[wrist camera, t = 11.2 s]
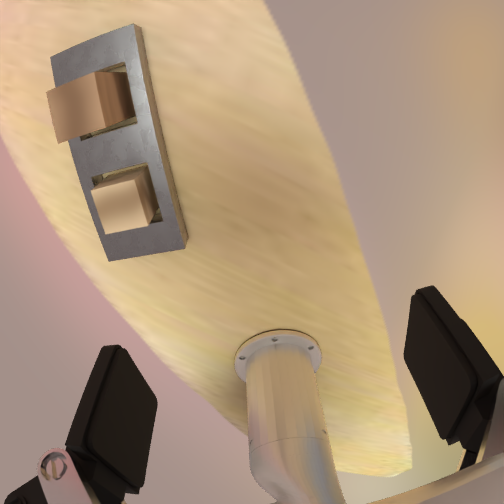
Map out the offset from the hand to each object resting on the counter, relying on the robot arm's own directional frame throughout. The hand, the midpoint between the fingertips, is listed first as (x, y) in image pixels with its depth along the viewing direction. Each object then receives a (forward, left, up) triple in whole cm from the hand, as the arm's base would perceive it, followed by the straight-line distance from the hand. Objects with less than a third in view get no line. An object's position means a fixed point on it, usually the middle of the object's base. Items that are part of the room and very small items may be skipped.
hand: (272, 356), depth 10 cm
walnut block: (+9, +12, -25) cm, 29 cm away
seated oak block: (-1, +12, -25) cm, 28 cm away
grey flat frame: (+4, +12, -25) cm, 28 cm away
